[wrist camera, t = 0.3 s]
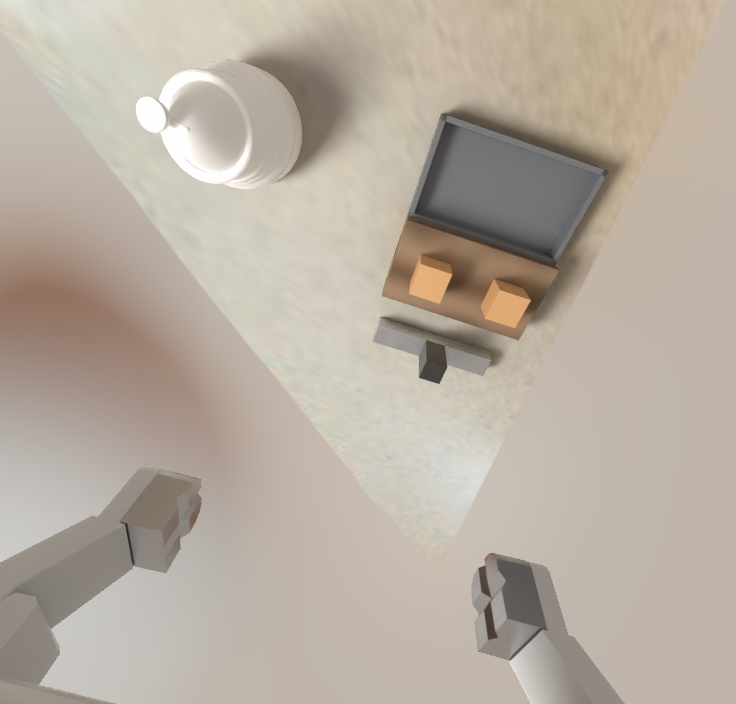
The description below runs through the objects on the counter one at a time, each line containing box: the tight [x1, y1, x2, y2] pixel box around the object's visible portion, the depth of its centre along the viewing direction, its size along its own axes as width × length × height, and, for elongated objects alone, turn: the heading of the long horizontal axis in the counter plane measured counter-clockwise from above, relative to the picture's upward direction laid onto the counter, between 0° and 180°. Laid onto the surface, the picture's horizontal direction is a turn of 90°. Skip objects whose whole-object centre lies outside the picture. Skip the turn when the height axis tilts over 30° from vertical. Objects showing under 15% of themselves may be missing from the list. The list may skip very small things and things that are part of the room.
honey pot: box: [136, 59, 302, 189], centre depth 40 cm, size 13×13×18 cm
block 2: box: [481, 279, 531, 328], centre depth 48 cm, size 4×4×4 cm
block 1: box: [409, 255, 452, 304], centre depth 47 cm, size 4×4×4 cm
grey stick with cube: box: [373, 317, 492, 384], centre depth 56 cm, size 3×18×9 cm, turn 74°
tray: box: [408, 113, 609, 265], centre depth 46 cm, size 12×20×3 cm, turn 74°
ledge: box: [382, 215, 560, 340], centre depth 51 cm, size 10×20×5 cm, turn 74°
